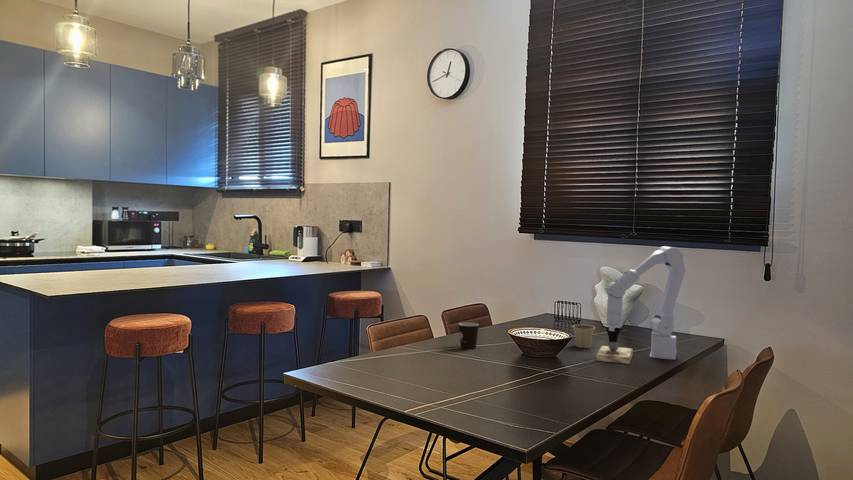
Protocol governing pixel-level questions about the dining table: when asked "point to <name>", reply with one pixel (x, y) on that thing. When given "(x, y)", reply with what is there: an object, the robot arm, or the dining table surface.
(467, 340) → the coffee mug
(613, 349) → the ball
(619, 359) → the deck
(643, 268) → the robot arm
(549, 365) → the dining table surface
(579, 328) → the flower pot
